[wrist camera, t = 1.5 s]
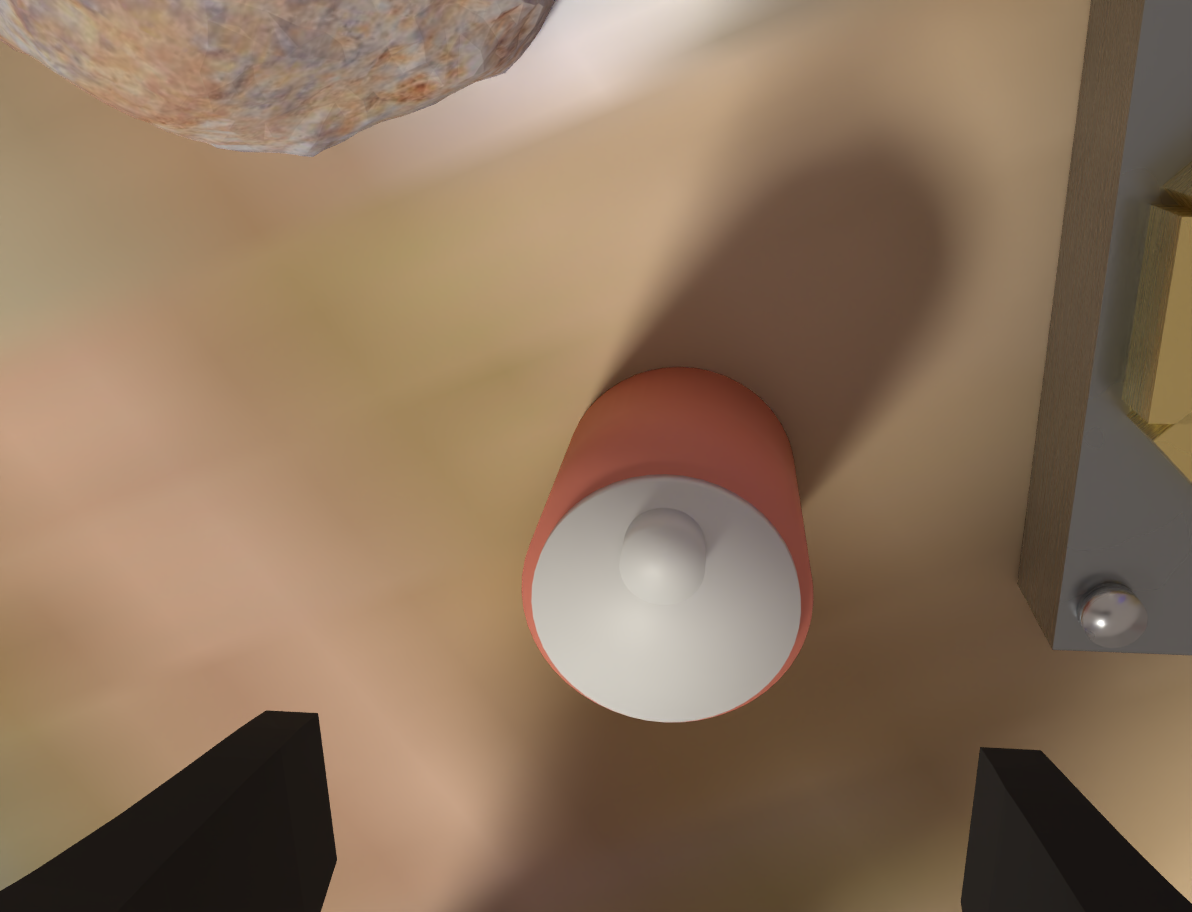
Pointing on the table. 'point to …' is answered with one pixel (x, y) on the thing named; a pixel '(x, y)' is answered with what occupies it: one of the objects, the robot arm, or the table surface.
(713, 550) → the can
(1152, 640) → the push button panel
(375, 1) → the stone
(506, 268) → the table surface
